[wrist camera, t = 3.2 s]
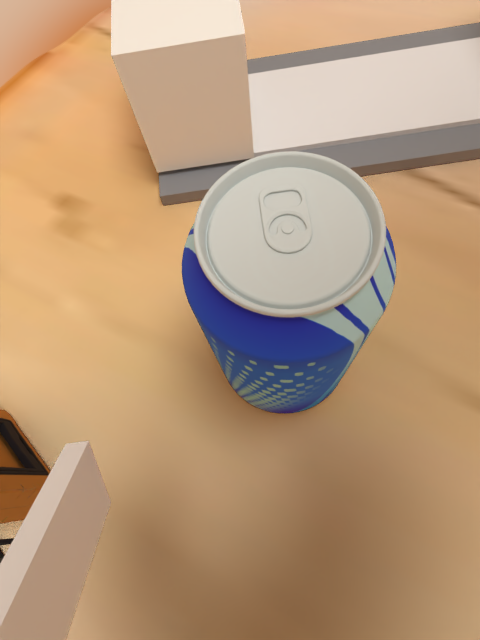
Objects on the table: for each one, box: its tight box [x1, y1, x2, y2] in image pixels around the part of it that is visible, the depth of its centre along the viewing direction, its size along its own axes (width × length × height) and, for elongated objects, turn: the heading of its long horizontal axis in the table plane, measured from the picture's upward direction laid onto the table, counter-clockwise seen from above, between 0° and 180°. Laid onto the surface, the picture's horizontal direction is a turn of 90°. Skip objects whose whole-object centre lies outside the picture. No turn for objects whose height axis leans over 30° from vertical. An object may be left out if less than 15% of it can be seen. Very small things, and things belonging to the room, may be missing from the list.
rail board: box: [111, 0, 480, 205], centre depth 31 cm, size 38×14×12 cm, turn 97°
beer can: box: [182, 151, 396, 413], centre depth 21 cm, size 8×8×16 cm
